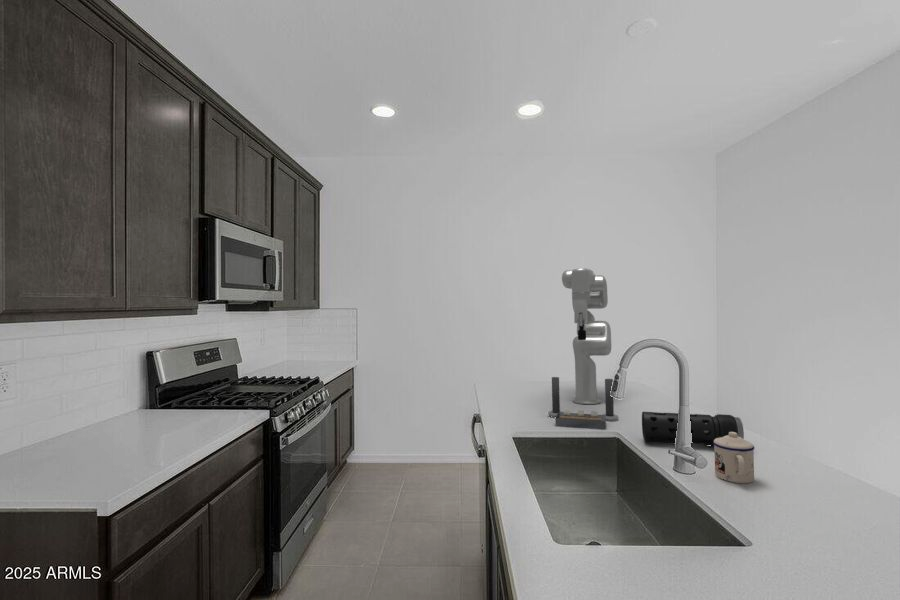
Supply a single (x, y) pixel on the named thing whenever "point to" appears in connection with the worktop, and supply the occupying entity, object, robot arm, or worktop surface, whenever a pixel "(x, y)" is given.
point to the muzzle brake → (702, 427)
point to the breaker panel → (581, 420)
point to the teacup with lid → (734, 458)
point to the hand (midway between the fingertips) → (582, 339)
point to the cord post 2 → (609, 402)
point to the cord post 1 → (555, 397)
